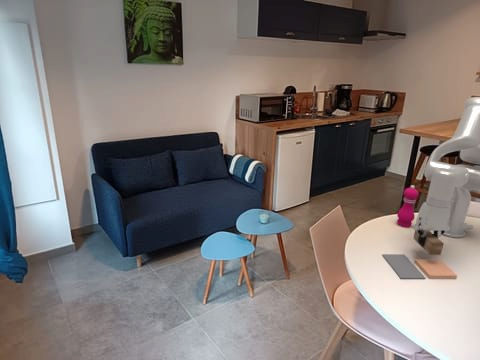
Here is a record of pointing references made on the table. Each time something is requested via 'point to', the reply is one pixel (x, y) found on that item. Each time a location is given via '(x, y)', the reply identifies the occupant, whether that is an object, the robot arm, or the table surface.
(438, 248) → the block
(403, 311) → the table surface
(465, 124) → the robot arm
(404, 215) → the pepper mill
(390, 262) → the mat
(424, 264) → the tile
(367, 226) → the table surface
